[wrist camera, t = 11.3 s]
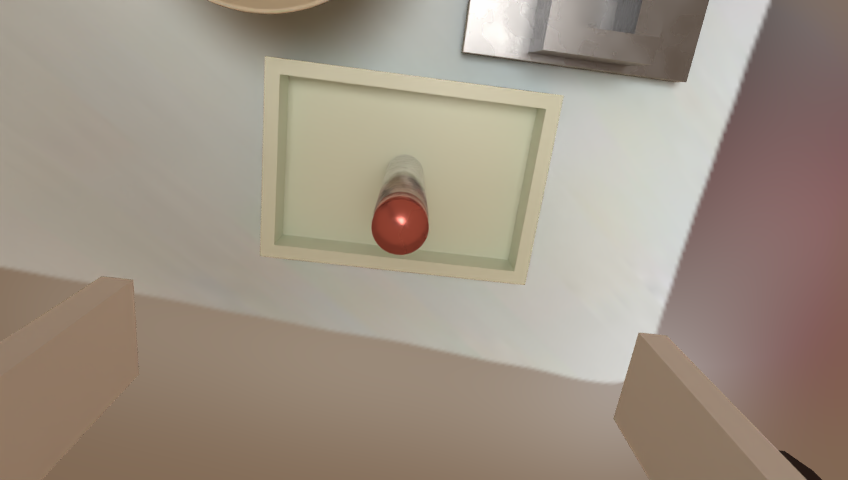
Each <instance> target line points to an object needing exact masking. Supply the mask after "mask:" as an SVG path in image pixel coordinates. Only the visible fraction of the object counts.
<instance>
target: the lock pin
mask: <svg viewBox="0 0 848 480" xmlns="http://www.w3.org/2000/svg"><path fill="white" fill-rule="evenodd" d="M428 220H429V216H428V207H427V199H426V191H425V182H424V174H423V168H422V165H421V164H420V162H419V161H418V160H417V159H416V158H414V157H413V156H410V155H399V156H397V157H395V158H393V159H392V160H391V161H390V162H389V164H388V166H387V169H386V173H385V176H384V179H383V183H382V186H381V189H380V193H379V196H378V199H377V203H376V206H375V209H374V214H373V220H372V225H371V229H372V235H373V237H374V240H375V241H376V243H377V244H378V245H379V246H380V247H381V248H382V249H383V250H385V251H386V252H389V253H391V254H395V255H405V254H409V253H412V252H414V251H416V250H417V249H419V248H420V247H421V246H422V245H423V243H424V242H425V240H426V238H427V236H428V231H429V224H428Z"/></svg>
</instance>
